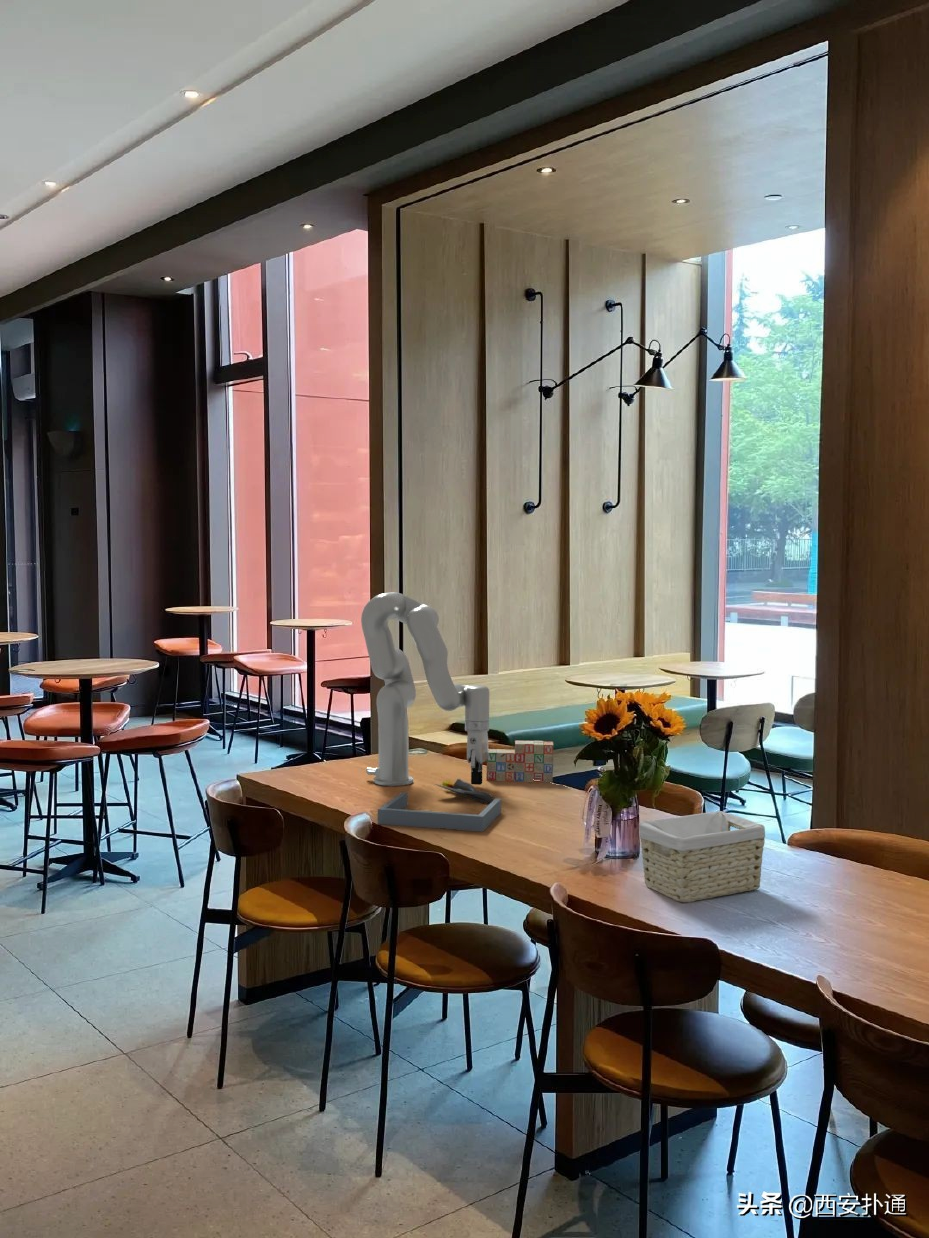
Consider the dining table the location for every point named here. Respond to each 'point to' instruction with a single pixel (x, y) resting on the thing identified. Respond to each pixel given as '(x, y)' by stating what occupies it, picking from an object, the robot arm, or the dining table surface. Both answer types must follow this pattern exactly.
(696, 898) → the storage basket
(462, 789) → the toy plane
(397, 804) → the u-shaped frame
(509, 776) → the stack of blocks
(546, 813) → the dining table surface
